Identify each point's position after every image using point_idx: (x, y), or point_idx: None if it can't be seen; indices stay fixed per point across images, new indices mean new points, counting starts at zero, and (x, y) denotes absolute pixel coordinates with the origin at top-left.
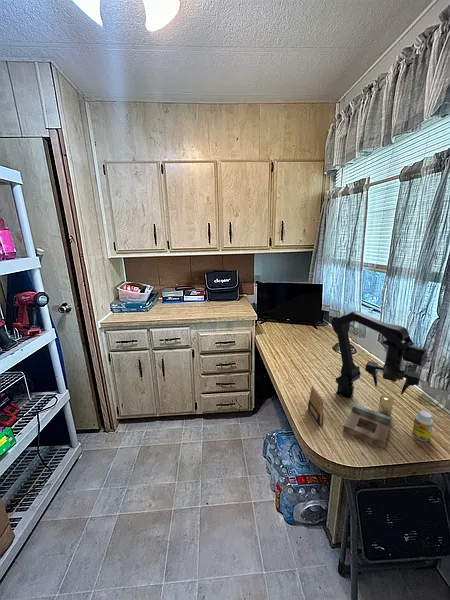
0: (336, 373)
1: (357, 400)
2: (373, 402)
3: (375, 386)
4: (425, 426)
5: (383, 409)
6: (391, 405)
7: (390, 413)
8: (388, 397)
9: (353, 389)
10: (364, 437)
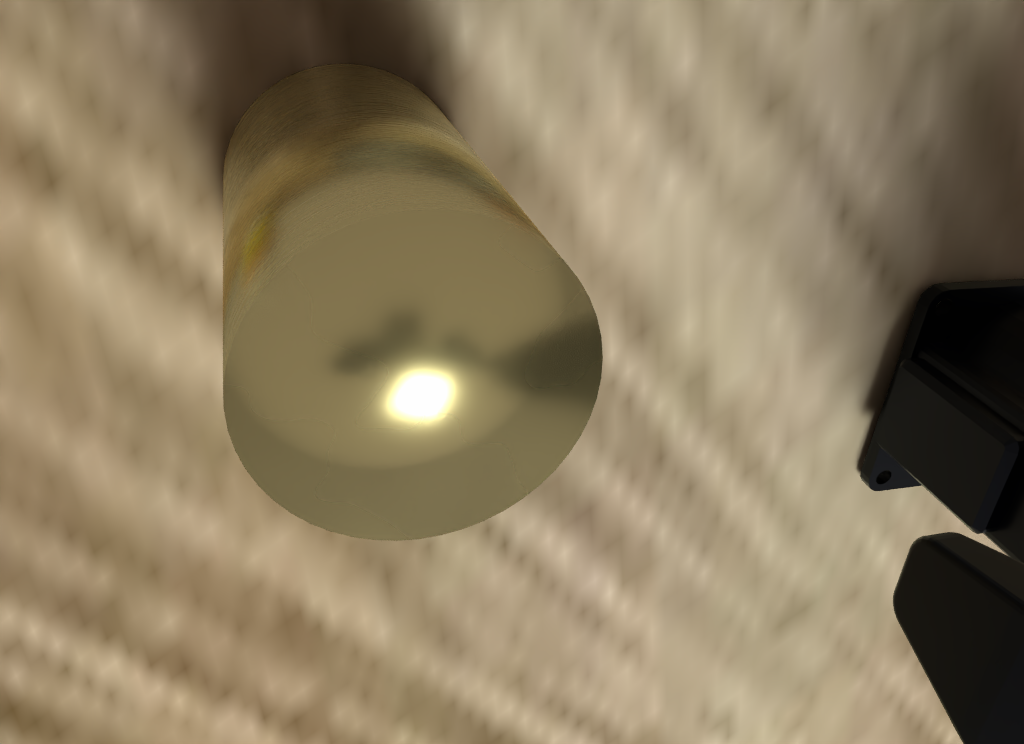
0: None
1: (803, 324)
2: None
3: (964, 539)
4: None
5: (402, 119)
6: (242, 251)
7: (234, 171)
8: (388, 477)
9: (952, 471)
10: None
